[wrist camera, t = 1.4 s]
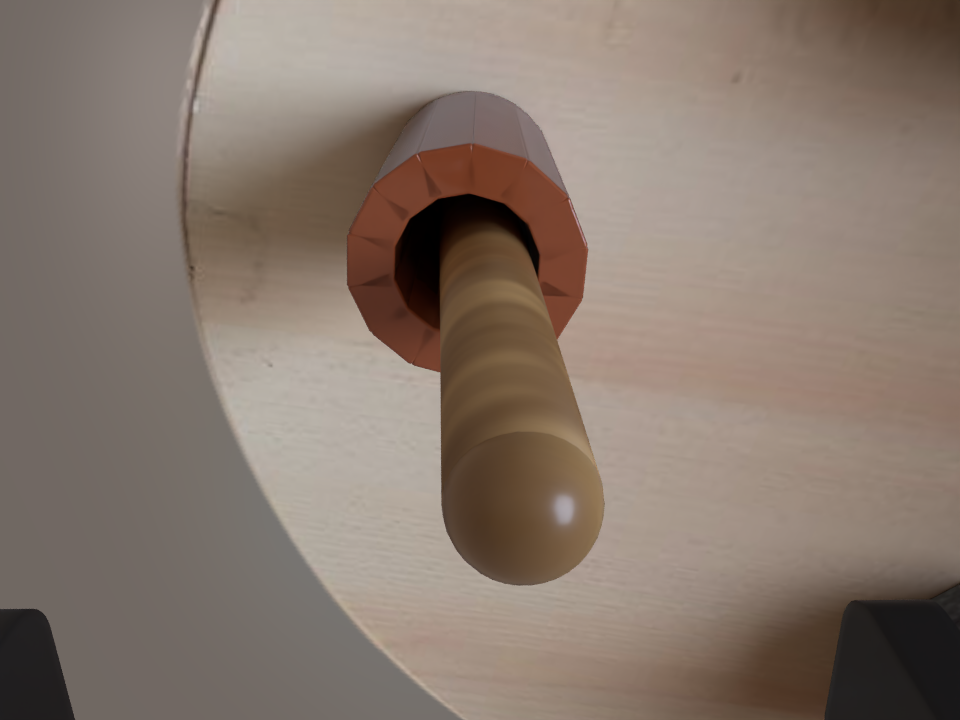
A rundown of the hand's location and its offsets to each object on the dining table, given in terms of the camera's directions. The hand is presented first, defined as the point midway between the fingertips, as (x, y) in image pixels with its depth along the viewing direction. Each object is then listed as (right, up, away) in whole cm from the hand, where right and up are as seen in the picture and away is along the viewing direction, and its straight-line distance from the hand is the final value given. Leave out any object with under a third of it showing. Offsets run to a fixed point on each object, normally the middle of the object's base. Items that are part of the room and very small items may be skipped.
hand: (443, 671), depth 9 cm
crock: (0, +10, +24) cm, 26 cm away
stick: (0, +10, +23) cm, 25 cm away
